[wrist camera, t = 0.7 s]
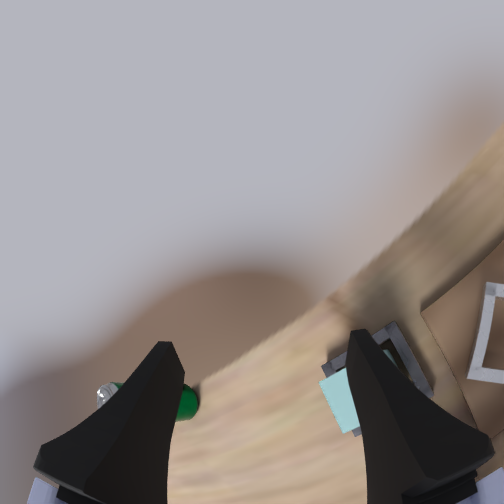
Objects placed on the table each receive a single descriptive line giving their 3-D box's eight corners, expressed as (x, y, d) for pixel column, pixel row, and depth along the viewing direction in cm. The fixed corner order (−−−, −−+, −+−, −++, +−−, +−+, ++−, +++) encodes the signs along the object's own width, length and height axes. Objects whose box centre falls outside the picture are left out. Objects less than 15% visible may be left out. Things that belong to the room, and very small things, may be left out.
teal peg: (408, 386, 19) (399, 406, 13) (368, 408, 20) (342, 433, 14) (388, 349, 21) (372, 351, 15) (350, 372, 23) (318, 382, 16)
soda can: (186, 375, 33) (104, 372, 24) (206, 405, 30) (120, 412, 21) (169, 397, 34) (91, 397, 25) (187, 426, 31) (106, 434, 22)
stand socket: (433, 392, 17) (433, 395, 16) (359, 432, 20) (354, 437, 19) (395, 321, 22) (393, 320, 20) (326, 365, 24) (320, 366, 23)
